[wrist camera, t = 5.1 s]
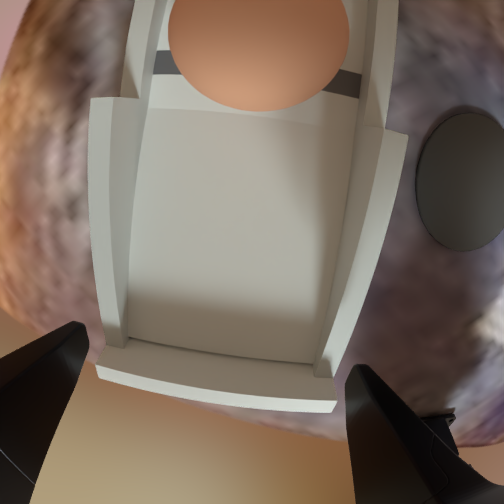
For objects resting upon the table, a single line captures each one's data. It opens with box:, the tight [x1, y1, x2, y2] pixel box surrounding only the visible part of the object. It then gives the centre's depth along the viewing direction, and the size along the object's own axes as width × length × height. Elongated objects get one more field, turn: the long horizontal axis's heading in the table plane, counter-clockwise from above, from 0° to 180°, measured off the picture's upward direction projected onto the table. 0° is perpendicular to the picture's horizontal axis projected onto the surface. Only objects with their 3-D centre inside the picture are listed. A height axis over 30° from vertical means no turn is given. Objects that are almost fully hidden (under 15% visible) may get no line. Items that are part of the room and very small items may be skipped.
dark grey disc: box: [416, 113, 504, 251], centre depth 12 cm, size 7×7×1 cm
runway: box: [88, 0, 409, 413], centre depth 9 cm, size 18×9×6 cm, turn 173°
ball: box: [168, 0, 350, 112], centre depth 7 cm, size 5×5×5 cm
